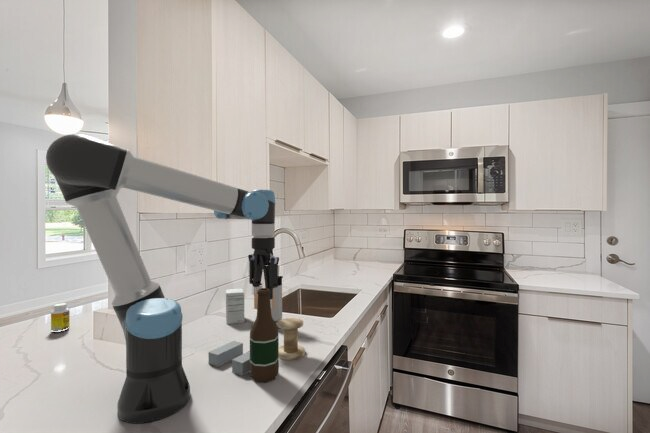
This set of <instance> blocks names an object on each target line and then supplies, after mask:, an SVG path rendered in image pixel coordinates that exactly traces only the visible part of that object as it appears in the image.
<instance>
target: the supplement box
mask: <svg viewBox="0 0 650 433" xmlns="http://www.w3.org/2000/svg"><path fill="white" fill-rule="evenodd" d="M225 319H226V325H229V324H240V323H245V322H246V321H245V292H244V289H243V288H232V289H231V288H229V289H225Z"/></svg>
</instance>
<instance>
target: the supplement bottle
mask: <svg viewBox="0 0 650 433" xmlns="http://www.w3.org/2000/svg"><path fill="white" fill-rule="evenodd" d="M68 327H69V328H70V308H68V303H66V302H62V303H57V304H53V310H51V312H50V331H51V330H53V331H58V330H63V329H66V328H68Z"/></svg>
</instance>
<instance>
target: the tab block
mask: <svg viewBox="0 0 650 433" xmlns="http://www.w3.org/2000/svg"><path fill="white" fill-rule="evenodd" d="M257 305H258V294H257V293H254V292H253V306H254V309H255V310H257ZM272 308H274V293H273V298H272ZM272 308H271V309H272Z"/></svg>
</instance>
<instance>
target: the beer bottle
mask: <svg viewBox="0 0 650 433" xmlns="http://www.w3.org/2000/svg"><path fill="white" fill-rule="evenodd" d="M270 293H271V291H270V289H268V288H266V287H262V288H261V289H259V290H258V291H257V294H258V305H257V309H256V316H255V320H254V321H253V323H252V326H251V328H250V331H249V351H250V372H249V374H250V376H249V377H250V378H251V380H253V381H254V382H255V383H265V384H266V383H268V382H272V381H275V380H276V378H277V377H278V375H279V369H280V368H279V366H280V365H279V364H280V363H279V362H280V361H279V359H280V358H279V347H280V346H279V328H278V327H277V325H276V323H275V321H274V320H273V318H272V315H271V304H270Z"/></svg>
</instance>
